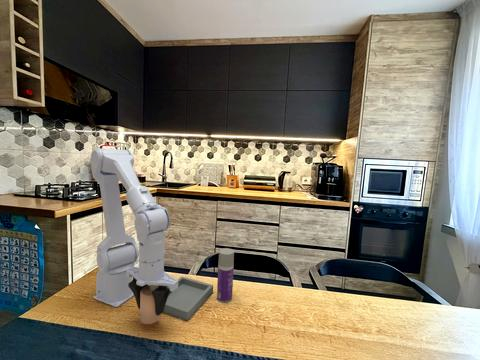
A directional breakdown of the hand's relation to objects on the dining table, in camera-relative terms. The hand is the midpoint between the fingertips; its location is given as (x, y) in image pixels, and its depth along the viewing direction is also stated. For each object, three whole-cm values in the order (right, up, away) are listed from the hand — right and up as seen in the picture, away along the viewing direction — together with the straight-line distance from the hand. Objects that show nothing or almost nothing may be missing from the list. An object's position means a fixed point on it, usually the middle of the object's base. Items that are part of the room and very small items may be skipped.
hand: (151, 309), depth 56 cm
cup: (0, -2, 0) cm, 2 cm away
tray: (+6, -3, +11) cm, 13 cm away
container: (+17, -4, +13) cm, 22 cm away
